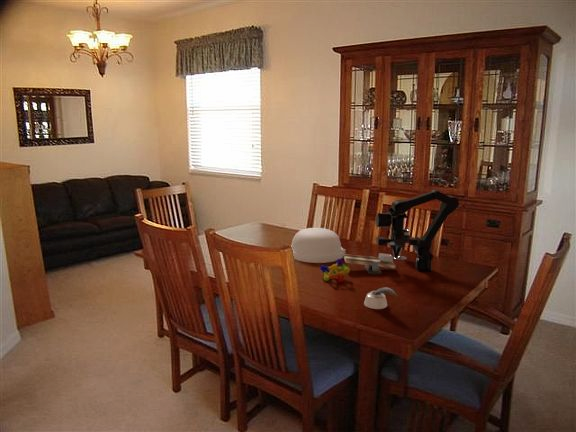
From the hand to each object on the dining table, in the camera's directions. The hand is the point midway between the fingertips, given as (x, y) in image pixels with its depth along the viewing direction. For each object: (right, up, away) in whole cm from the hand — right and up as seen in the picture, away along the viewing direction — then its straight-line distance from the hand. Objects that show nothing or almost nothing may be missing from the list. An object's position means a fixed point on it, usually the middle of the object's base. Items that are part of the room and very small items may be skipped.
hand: (395, 258), depth 222 cm
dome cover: (-37, -1, +27) cm, 46 cm away
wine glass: (+7, -2, +21) cm, 22 cm away
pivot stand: (-11, -6, +1) cm, 12 cm away
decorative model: (-31, -9, -12) cm, 34 cm away
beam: (-13, -3, +1) cm, 13 cm away
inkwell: (-15, -16, -44) cm, 49 cm away
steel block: (-5, -2, 0) cm, 5 cm away
